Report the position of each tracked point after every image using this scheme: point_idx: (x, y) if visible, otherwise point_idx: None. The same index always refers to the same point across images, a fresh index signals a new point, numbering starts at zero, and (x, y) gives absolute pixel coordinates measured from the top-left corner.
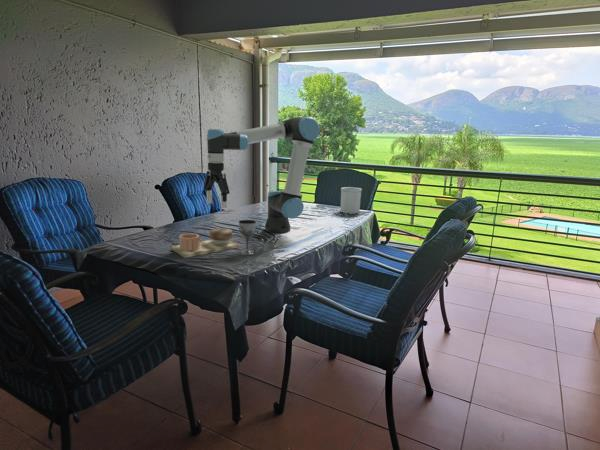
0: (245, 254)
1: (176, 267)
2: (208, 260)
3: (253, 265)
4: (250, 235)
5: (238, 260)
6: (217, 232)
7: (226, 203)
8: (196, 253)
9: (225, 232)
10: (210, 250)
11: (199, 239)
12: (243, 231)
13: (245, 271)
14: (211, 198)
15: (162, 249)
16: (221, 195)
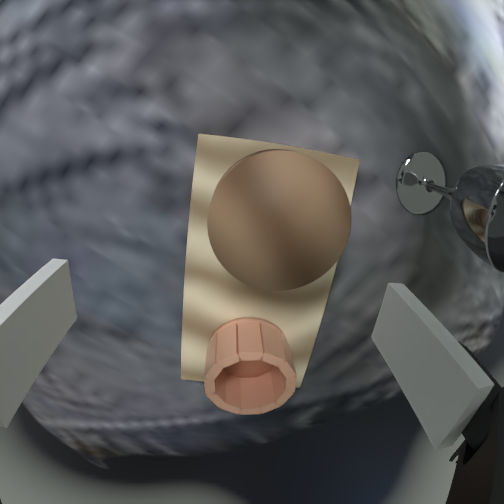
0: (434, 209)
1: (344, 413)
2: None
3: None
4: (493, 211)
5: (448, 267)
6: (294, 259)
7: (427, 310)
8: (309, 351)
9: (327, 223)
10: (325, 302)
11: (282, 349)
12: (491, 249)
13: (494, 302)
14: (38, 298)
15: (164, 386)
16: (448, 440)
